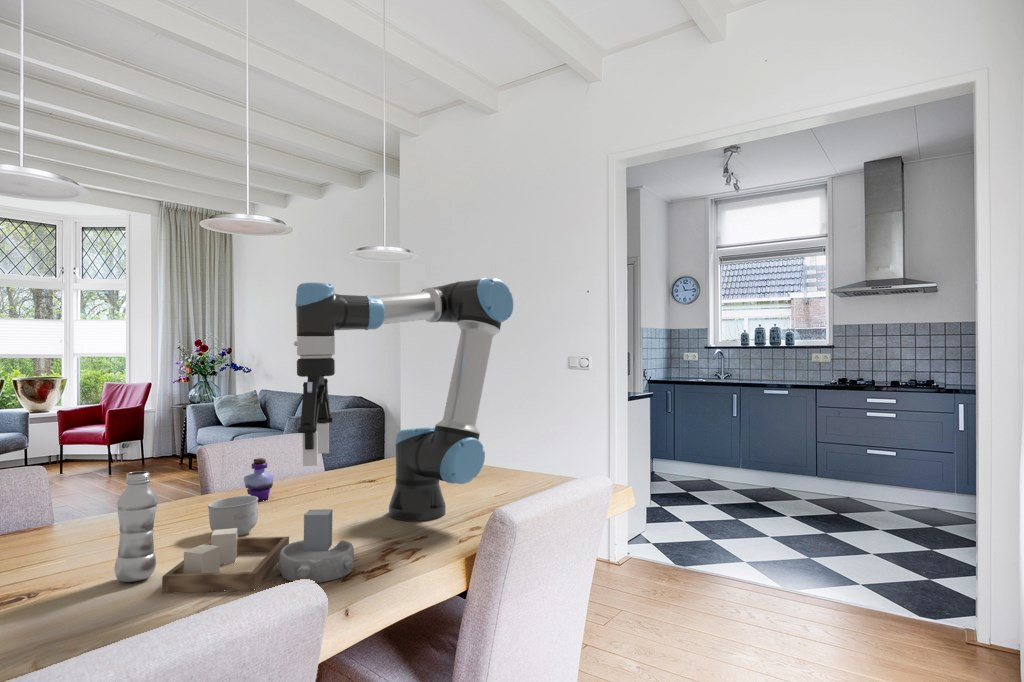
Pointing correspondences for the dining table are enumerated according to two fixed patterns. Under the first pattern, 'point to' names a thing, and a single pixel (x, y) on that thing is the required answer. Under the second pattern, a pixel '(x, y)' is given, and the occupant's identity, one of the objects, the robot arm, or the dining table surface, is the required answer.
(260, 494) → the potion bottle
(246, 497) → the teacup
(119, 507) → the plastic bottle
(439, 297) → the robot arm
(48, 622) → the dining table surface
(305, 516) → the gray block
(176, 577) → the parts tray
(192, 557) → the white block
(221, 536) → the white block
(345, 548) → the dish
